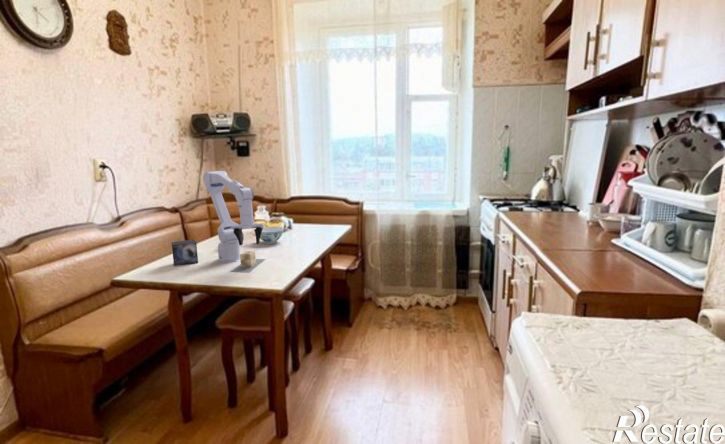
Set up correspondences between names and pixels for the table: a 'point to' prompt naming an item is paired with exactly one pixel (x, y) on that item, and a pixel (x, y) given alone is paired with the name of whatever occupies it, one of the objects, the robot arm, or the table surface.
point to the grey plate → (247, 269)
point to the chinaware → (271, 234)
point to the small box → (184, 252)
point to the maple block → (248, 259)
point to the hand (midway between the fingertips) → (249, 244)
